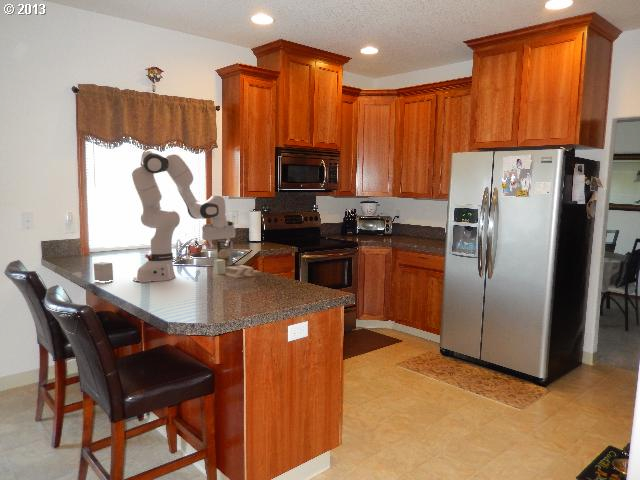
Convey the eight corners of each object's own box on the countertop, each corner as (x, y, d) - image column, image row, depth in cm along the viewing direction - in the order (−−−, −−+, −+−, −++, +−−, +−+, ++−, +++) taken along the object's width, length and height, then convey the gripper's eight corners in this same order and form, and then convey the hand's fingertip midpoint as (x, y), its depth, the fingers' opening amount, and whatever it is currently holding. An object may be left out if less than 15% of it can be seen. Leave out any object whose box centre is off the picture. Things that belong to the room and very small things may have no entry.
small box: (113, 282, 255) (112, 262, 254) (105, 283, 250) (104, 264, 249) (103, 280, 258) (102, 261, 257) (94, 282, 253) (93, 263, 252)
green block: (217, 274, 277) (217, 261, 276) (213, 273, 281) (213, 260, 280) (225, 273, 280) (225, 260, 280) (221, 272, 284) (221, 259, 283)
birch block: (234, 278, 266) (234, 269, 266) (225, 275, 276) (225, 267, 275) (253, 276, 273) (253, 267, 273) (243, 273, 283) (243, 265, 282)
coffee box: (217, 265, 310) (216, 241, 308) (220, 263, 316) (219, 240, 315) (230, 265, 309) (230, 241, 308) (233, 264, 316) (233, 240, 314)
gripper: (204, 224, 269) (205, 248, 270) (236, 222, 281) (237, 245, 283) (199, 224, 273) (200, 247, 275) (231, 221, 286) (232, 244, 288)
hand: (219, 246), depth 279 cm, fingers open, 8 cm apart
